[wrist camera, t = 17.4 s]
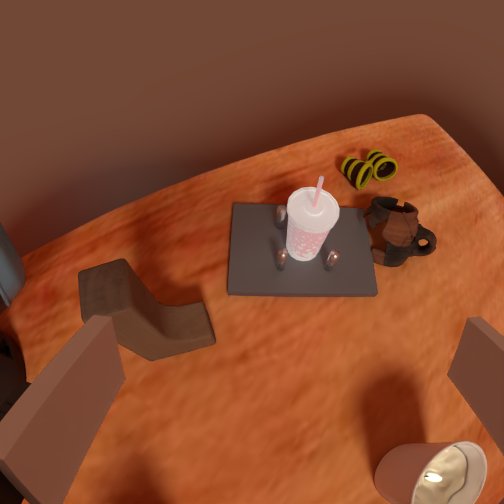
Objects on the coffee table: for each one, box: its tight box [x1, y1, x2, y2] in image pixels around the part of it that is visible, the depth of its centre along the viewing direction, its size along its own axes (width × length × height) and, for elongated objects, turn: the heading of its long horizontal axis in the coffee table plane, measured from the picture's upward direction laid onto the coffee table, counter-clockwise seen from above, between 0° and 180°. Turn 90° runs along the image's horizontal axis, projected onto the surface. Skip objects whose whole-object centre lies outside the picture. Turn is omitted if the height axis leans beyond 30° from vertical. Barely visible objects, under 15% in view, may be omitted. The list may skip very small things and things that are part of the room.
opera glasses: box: [341, 149, 398, 190], centre depth 49 cm, size 10×5×5 cm, turn 115°
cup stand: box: [228, 203, 378, 297], centre depth 41 cm, size 20×14×5 cm
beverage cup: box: [286, 176, 340, 261], centre depth 36 cm, size 6×6×14 cm
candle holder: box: [374, 441, 487, 504], centre depth 23 cm, size 10×10×12 cm
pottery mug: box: [363, 197, 437, 267], centre depth 42 cm, size 12×10×8 cm
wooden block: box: [78, 259, 216, 361], centre depth 30 cm, size 9×4×18 cm, turn 108°
